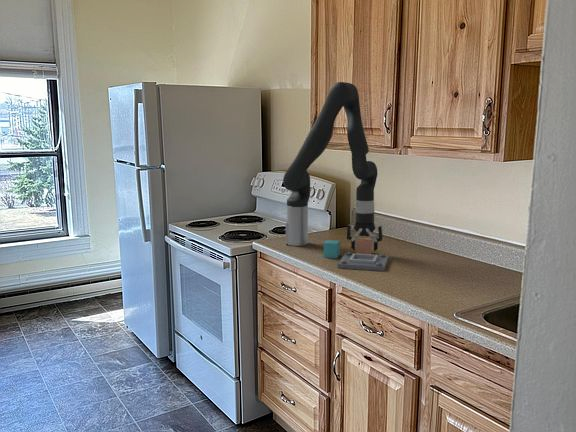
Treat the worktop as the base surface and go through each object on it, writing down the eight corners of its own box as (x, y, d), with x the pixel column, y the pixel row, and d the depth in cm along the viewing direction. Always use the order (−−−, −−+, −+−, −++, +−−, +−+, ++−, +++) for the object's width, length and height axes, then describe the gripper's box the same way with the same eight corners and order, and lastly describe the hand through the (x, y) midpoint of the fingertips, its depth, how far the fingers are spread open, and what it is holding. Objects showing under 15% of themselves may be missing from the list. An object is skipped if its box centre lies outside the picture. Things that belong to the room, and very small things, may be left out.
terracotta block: (356, 255, 214) (356, 240, 213) (358, 251, 220) (358, 237, 219) (369, 256, 213) (370, 241, 212) (371, 252, 218) (371, 238, 217)
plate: (337, 267, 196) (337, 261, 195) (345, 256, 212) (345, 250, 211) (383, 271, 191) (384, 264, 191) (388, 259, 207) (388, 253, 207)
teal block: (323, 257, 211) (323, 242, 210) (326, 254, 216) (326, 239, 215) (337, 258, 210) (337, 243, 209) (339, 255, 215) (339, 240, 214)
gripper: (383, 210, 215) (383, 249, 218) (348, 209, 219) (348, 247, 221) (381, 213, 208) (381, 253, 210) (345, 212, 212) (345, 251, 214)
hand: (364, 250), depth 216 cm, fingers open, 8 cm apart
